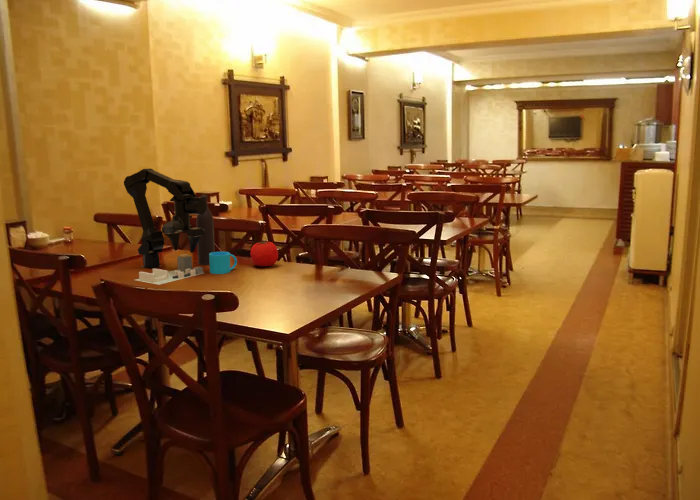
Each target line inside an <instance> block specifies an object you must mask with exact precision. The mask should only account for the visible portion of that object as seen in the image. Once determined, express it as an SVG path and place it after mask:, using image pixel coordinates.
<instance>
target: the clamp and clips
mask: <svg viewBox="0 0 700 500" xmlns="http://www.w3.org/2000/svg"><path fill="white" fill-rule="evenodd" d="M185 271H186V274H188V273H190V276H192V277H194V276H195V277H196V276H199V275H202V273H203V274H204V267H202V266H195V267H192V270H191V269H185ZM196 274H197V275H196ZM198 274H199V275H198ZM177 275H178V279H180V280H182V279H181V278H184V272H181V271H175V276H177ZM184 279H185V278H184Z"/></svg>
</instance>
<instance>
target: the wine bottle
mask: <svg viewBox="0 0 700 500" xmlns="http://www.w3.org/2000/svg"><path fill="white" fill-rule="evenodd" d="M199 197H202V199H203V201H204V202H205V204H206V212H205V213H204V214H203V215H198V214H196V219H195V220H196V221H195V222H196V227H198V228H203V229H204V235H202V237H200V239H199V241H198V243H197V245H196V247H197V259H198V261H197V262H198V263H197V264H198V265H199V266H210V262H209V254H210V253H213V252H216V250H215V229H214V228H215V226H214V225H215V224H214V216H213V213H212V212H211V210H210V208H209V205H208V195H207V194H200V196H199Z"/></svg>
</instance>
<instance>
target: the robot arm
mask: <svg viewBox="0 0 700 500" xmlns="http://www.w3.org/2000/svg"><path fill="white" fill-rule="evenodd" d="M150 182H151V183H153V184H156V185H158V186H161V187H163V188H164V189H166V190H167V192H168V193H169V194H170V195H172V197H171V198H170V199H169V202H173V203H174V215H172V218H171V220H170V221H168V222H166V223H165V224H163V225H162V227H161V230H158V229H157V227H156V226H155V222H154V219H153V217H152V216H153V215H152V213H151V210H150V206H149V203H148V200H147V196H146V194H147V190H148V186H147V184H148V183H150ZM123 186H124V188H125V191H126V192H127V194H129V196H130V197H131V198H132V199H133V203H134V205H135V210H136V212H137V215H138V219H139V222H140V224H141V228H142V235H141V242H142V243H141V244H140V245H139V247H138V249H137V253H138V255H141V256H142V261H143V262H142V264H143V265H142V266H140V269H142V268H143V269H157V268H159V267H162V265H160V254H159V253H162V252H163V249H164V245H165V240H166V239H165V237H164V235H165V236H167V237H168V238H169V240H170V242H171V245H172V247H173V249H174V251H178V248H179V243H180V242H179V241H180V235H181V233H183V234H186V235H187V236H186V238H187V239H188V242H189V249H190V251H189V252H190V254H192V253H194V252H195V250H196V247H197V243H198V241H199V239H200V237H202V235H204V229H203V228H198V227H197V226H196V227H193V225H191V219H192V218H193V215H197V214H198V215H203V214H204V213H205V212H206V204H205V202H204V201H203V199H202V197H200V196H199V197H198V196H197V195H196V193H195V191H194V189H193V188H192V186H191V183H190V182H189V181H187V180H181V179H174V178H172V177H169V176H167V175H165V174H163V173H160V172H159V171H156V170H154V169H153V168H143V169H140V170H139V171H138V172H135V173H133V174H131V175H127V176H126V177H125V178H124V180H123Z"/></svg>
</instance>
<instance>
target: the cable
mask: <svg viewBox="0 0 700 500" xmlns="http://www.w3.org/2000/svg"><path fill="white" fill-rule="evenodd" d="M188 276H190V273H188V274H184V277H188ZM176 278H178V275H177V276H173V279H176ZM188 278H189V277H188Z"/></svg>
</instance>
